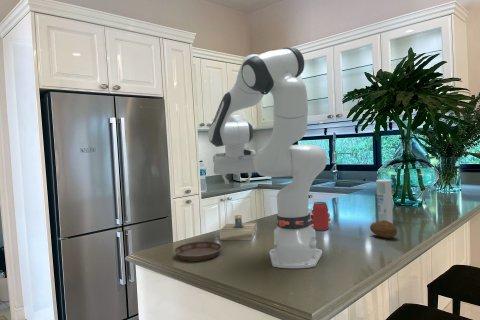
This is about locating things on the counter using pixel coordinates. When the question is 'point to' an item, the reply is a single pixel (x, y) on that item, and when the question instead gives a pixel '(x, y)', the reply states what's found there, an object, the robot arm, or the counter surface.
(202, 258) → the plant saucer
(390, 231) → the potato
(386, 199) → the spray can
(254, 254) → the counter surface
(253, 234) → the block
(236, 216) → the grey and gold cylinder
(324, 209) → the beer can
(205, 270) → the counter surface
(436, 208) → the counter surface
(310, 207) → the candy landscape model
